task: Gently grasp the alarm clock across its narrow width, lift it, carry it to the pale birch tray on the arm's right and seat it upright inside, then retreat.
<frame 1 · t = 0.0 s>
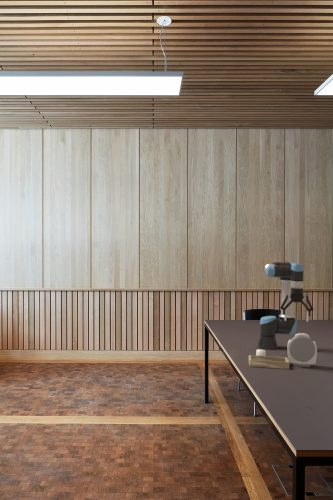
hand: (296, 321, 274), 28 cm above the table, fingers open, 13 cm apart
alarm clock: (301, 365, 272), on the table
white rounded cylinder: (260, 360, 282), on the table
tray: (268, 365, 272), on the table
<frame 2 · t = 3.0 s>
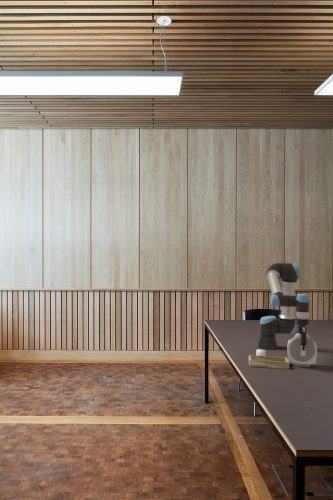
hand: (301, 353, 272), 7 cm above the table, fingers closed on alarm clock, 9 cm apart
alarm clock: (301, 365, 272), on the table, touching gripper
everything else where it was.
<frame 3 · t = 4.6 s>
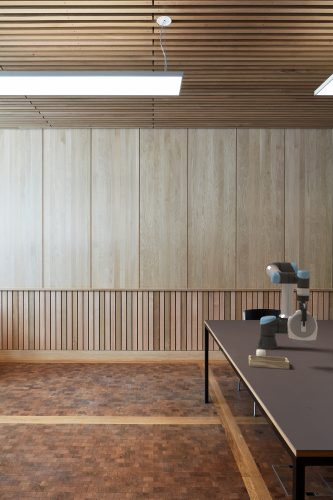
hand: (302, 330, 273), 22 cm above the table, fingers closed on alarm clock, 9 cm apart
alarm clock: (301, 342, 273), point 15 cm above the table, touching gripper
everything else where it was.
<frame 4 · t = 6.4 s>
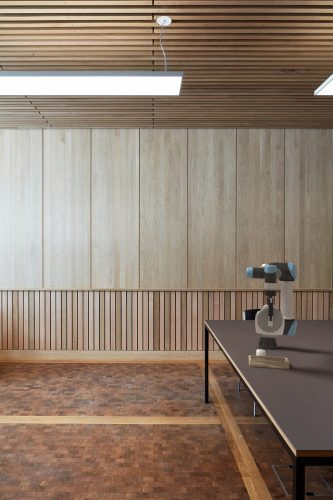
hand: (269, 324, 272), 25 cm above the table, fingers closed on alarm clock, 9 cm apart
alarm clock: (269, 337, 272), point 18 cm above the table, touching gripper
everything else where it was.
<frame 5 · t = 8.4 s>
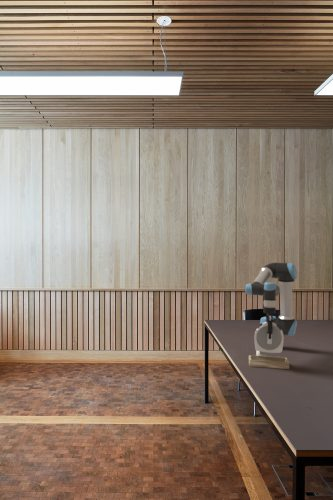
hand: (268, 342, 272), 14 cm above the table, fingers closed on alarm clock, 9 cm apart
alarm clock: (268, 354, 272), point 7 cm above the table, touching gripper
everything else where it was.
when the fingers open (10 cm above the table, at t = 9.8 s): alarm clock drops 1 cm, resting on tray.
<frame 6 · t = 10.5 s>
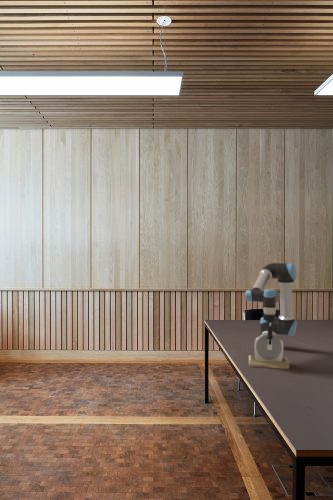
hand: (268, 347, 272), 11 cm above the table, fingers open, 13 cm apart
alarm clock: (268, 363, 272), point 1 cm above the table, touching tray
everything else where it was.
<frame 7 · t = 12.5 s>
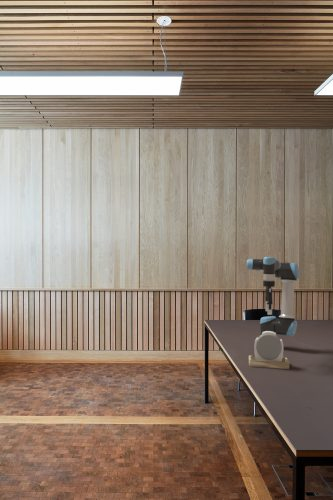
hand: (268, 312, 281), 32 cm above the table, fingers open, 13 cm apart
nothing on the table moved.
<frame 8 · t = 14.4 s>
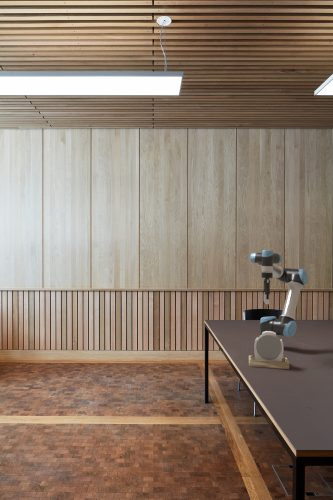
hand: (266, 303, 296), 37 cm above the table, fingers open, 13 cm apart
nothing on the table moved.
at the end: alarm clock inside the target area on the tray (0.0 cm from its centre), point 0.8 cm above the tray's base; alarm clock tilted 0°; the gripper is holding nothing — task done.
